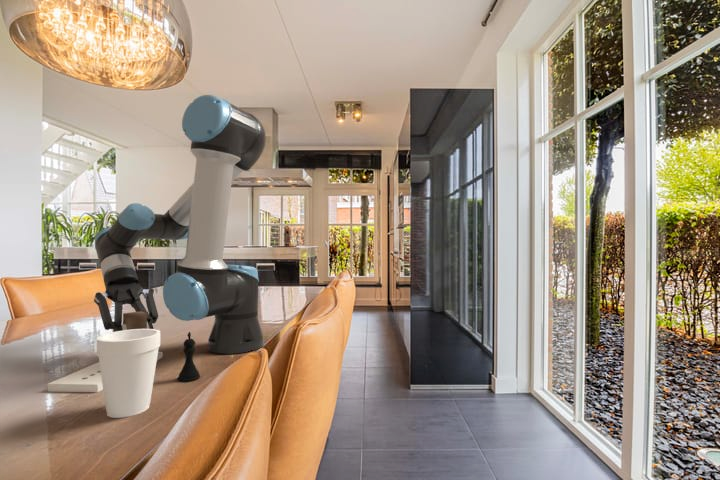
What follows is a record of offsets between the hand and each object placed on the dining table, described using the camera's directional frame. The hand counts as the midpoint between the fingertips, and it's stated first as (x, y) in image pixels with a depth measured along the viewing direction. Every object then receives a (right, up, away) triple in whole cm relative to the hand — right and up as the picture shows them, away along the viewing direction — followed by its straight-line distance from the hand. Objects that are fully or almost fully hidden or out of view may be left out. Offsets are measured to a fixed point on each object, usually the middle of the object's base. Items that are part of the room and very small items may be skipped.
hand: (139, 348), depth 87 cm
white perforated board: (-3, -4, -5) cm, 7 cm away
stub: (-3, -3, +2) cm, 4 cm away
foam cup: (+12, -4, -24) cm, 27 cm away
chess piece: (+16, -4, -9) cm, 19 cm away
